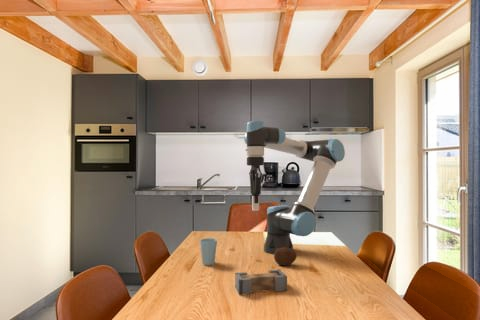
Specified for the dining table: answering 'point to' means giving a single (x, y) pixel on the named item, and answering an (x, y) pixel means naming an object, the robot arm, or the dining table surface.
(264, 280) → the dark brown block
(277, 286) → the endcap
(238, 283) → the endcap
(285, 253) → the potato
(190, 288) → the dining table surface
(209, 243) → the cup
